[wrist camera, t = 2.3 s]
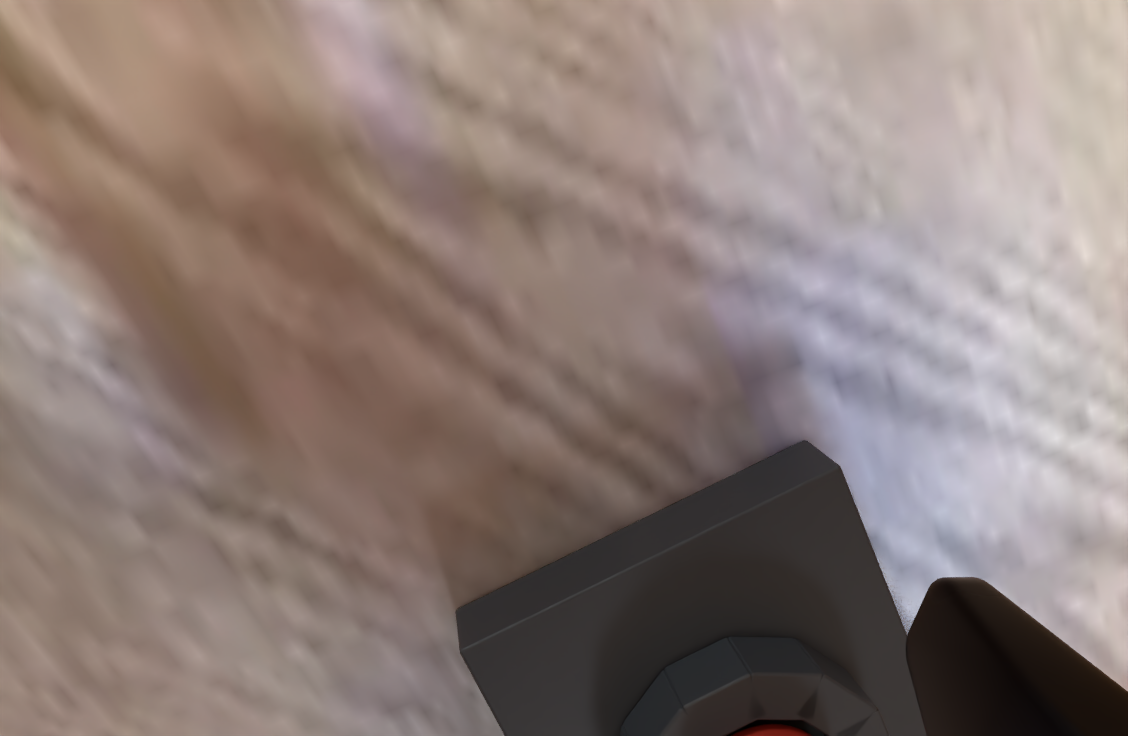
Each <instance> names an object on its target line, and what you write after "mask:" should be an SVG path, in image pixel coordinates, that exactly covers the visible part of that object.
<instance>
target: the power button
mask: <svg viewBox="0 0 1128 736" xmlns="http://www.w3.org/2000/svg"><path fill="white" fill-rule="evenodd" d="M731 736H812V735H810V734H809V733H807V732H805V731H803V730H801V729H798V728H795V727H792V726H788V725H783V724H763V725H757V726H753V727H749V728H746V729H743V730H741V731H739V732H736V733H734V734H733V735H731Z"/></svg>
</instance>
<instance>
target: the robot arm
mask: <svg viewBox="0 0 1128 736" xmlns="http://www.w3.org/2000/svg"><path fill="white" fill-rule="evenodd" d="M905 652H906V660H907V665H908V669H909V672H910V676H911V680H912V683H913V687H914V691H915V695H916V698H917V702H918V706H919V709H920V713H921V717H922V721H923V724H924V728H925V732H926V735H927V736H1128V691H1126V690H1125V689H1124V688H1122V687H1121V686H1120V685H1119V684H1117V683H1116V682H1115V681H1113V680H1112V679H1111V678H1110V677H1108V676H1107V675H1106V674H1104V673H1103V672H1102V671H1101V670H1099V669H1098V668H1097V667H1095V666H1094V665H1093V664H1092V663H1090V662H1089V661H1088V660H1086V659H1085V658H1084V657H1083V656H1081V655H1080V654H1079V653H1077V652H1076V651H1075V650H1074V649H1072V648H1071V647H1070V646H1068V645H1067V644H1066V643H1065V642H1063V641H1062V640H1061V639H1059V638H1058V637H1057V636H1056V635H1054V634H1053V633H1052V632H1050V631H1049V630H1048V629H1047V628H1045V627H1044V626H1043V625H1041V624H1040V623H1039V622H1038V621H1036V620H1035V619H1034V618H1032V617H1031V616H1030V615H1029V614H1027V613H1026V612H1025V611H1023V610H1022V609H1021V608H1020V607H1018V606H1017V605H1016V604H1014V603H1013V602H1012V601H1011V600H1009V599H1008V598H1007V597H1005V596H1004V595H1003V594H1002V593H1000V592H999V591H998V590H996V589H995V588H994V587H993V586H991V585H990V584H988V583H987V582H985V581H984V580H982V579H979V578H975V577H947V578H939V579H937V580H936V581H935V582H933V583H932V584H931V585H930V587H929V589H928V591H927V593H926V595H925V597H924V600H923V602H922V604H921V606H920V608H919V611H918V613H917V615H916V617H915V619H914V621H913V624H912V626H911V628H910V630H909V632H908V635H907V639H906V650H905Z"/></svg>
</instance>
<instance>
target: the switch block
mask: <svg viewBox="0 0 1128 736" xmlns="http://www.w3.org/2000/svg"><path fill="white" fill-rule="evenodd" d="M456 620H457V629H458V639H459V648H460V654H461V656H462V658H463V659H464V661H465V663H466V665H467V667H468V669H469V670H470V672H471V674H472V676H473V678H474V680H475V682H476V683H477V685H478V687H479V689H480V691H481V693H482V694H483V696H484V698H485V700H486V702H487V704H488V706H489V707H490V709H491V711H492V713H493V715H494V717H495V718H496V720H497V722H498V724H499V726H500V728H501V730H502V731H503V733H504V735H505V736H731V735H733V734H734V733H736V732H739V731H741V730H743V729H746V728H749V727H753V726H757V725H763V724H783V725H788V726H792V727H795V728H798V729H801V730H803V731H805V732H807V733H809V734H810V735H812V736H927V735H926V732H925V728H924V724H923V721H922V717H921V713H920V709H919V706H918V702H917V698H916V695H915V691H914V687H913V683H912V680H911V676H910V672H909V669H908V665H907V660H906V652H905V650H906V639H907V634H906V632H905V629H904V627H903V624H902V622H901V619H900V616H899V614H898V611H897V609H896V606H895V604H894V601H893V599H892V596H891V594H890V591H889V589H888V586H887V583H886V581H885V578H884V576H883V573H882V571H881V568H880V566H879V563H878V561H877V558H876V556H875V553H874V550H873V548H872V545H871V543H870V540H869V538H868V535H867V533H866V530H865V528H864V525H863V523H862V520H861V518H860V515H859V512H858V510H857V507H856V505H855V502H854V500H853V497H852V495H851V492H850V490H849V487H848V485H847V482H846V479H845V477H844V474H843V472H842V469H841V467H840V466H839V465H838V464H837V463H835V462H834V461H833V460H831V459H830V458H829V457H827V456H826V455H825V454H824V453H822V452H821V451H820V450H818V449H817V448H816V447H814V446H813V445H812V444H811V443H809V442H808V441H807V440H805V441H802V442H800V443H798V444H796V445H794V446H792V447H789V448H787V449H785V450H783V451H781V452H779V453H777V454H775V455H773V456H771V457H769V458H767V459H765V460H763V461H761V462H759V463H757V464H755V465H753V466H750V467H748V468H746V469H744V470H742V471H740V472H738V473H736V474H734V475H732V476H730V477H728V478H726V479H724V480H722V481H720V482H718V483H716V484H713V485H711V486H709V487H707V488H705V489H703V490H701V491H699V492H697V493H695V494H693V495H691V496H689V497H687V498H685V499H683V500H681V501H679V502H677V503H674V504H672V505H670V506H668V507H666V508H664V509H662V510H660V511H658V512H656V513H654V514H652V515H650V516H648V517H646V518H644V519H642V520H640V521H637V522H635V523H633V524H631V525H629V526H627V527H625V528H623V529H621V530H619V531H617V532H615V533H613V534H611V535H609V536H607V537H605V538H603V539H600V540H598V541H596V542H594V543H592V544H590V545H588V546H586V547H584V548H582V549H580V550H578V551H576V552H574V553H572V554H570V555H568V556H566V557H564V558H561V559H559V560H557V561H555V562H553V563H551V564H549V565H547V566H545V567H543V568H541V569H539V570H537V571H535V572H533V573H531V574H529V575H527V576H524V577H522V578H520V579H518V580H516V581H514V582H512V583H510V584H508V585H506V586H504V587H502V588H500V589H498V590H496V591H494V592H492V593H490V594H487V595H485V596H483V597H481V598H479V599H477V600H475V601H473V602H471V603H469V604H467V605H465V606H463V607H461V608H459V609H457V610H456Z"/></svg>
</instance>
